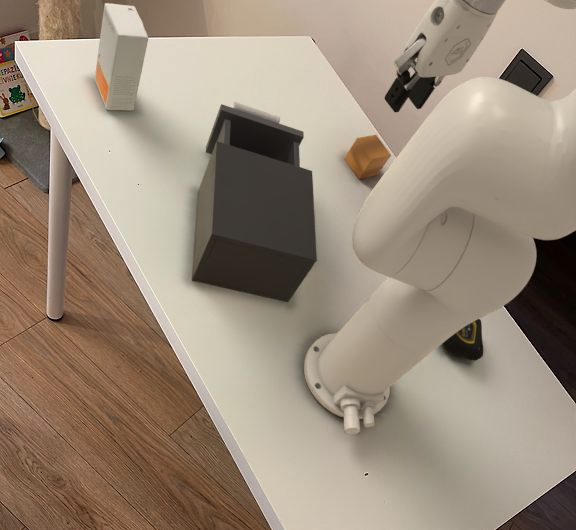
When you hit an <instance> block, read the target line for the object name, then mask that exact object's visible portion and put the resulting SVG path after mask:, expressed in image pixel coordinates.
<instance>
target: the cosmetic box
mask: <svg viewBox="0 0 576 530" xmlns="http://www.w3.org/2000/svg"><path fill="white" fill-rule="evenodd" d="M148 42H149V36H148V33H147V31H146V28H145V25H144V23H143V20H142V19H141V17H140V15H139V13H138V11H137V9H136V7H135V6H134V5H129V4H128V5H126V4H119V3H110V2H106V3H104V6H103V13H102V21H101V28H100V36H99V42H98V51H97V57H96V64H95V71H94V79H93V80H94V83H95V84H96V87H97V89H98V91H99V94H100V96H101V99H102V102H103V104H104V107H105V110H106V111H134V110H135V107H136V101H137V97H138V92H139V86H140V82H141V75H142V72H143V66H144V62H145V57H146V54H147V53H146V52H147V47H148Z"/></svg>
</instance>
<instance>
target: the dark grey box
mask: <svg viewBox="0 0 576 530" xmlns="http://www.w3.org/2000/svg"><path fill="white" fill-rule="evenodd" d="M233 103H234V104H233V107H231V106H228V105H226V104H220V106H219V109H218V112H217V114H216V118H215V120H214V122H213V125H212V128H211V131H210V134H209V137H208V139H207V143H206V146H205V153H206V154H209V155H212V152H213V149H214V147H215V144H216V141H218V142H221V143H224V144H227V145H231V146H234V147H237V148H240V149H243V150H247V151H250V152H253V153H256V154H260V155H263V156H266V157H269V158H272V159H276V160H279V161H282V162H285V163H288V164H292V165H295V166H298V167H301V161H300V160H301V159H300V158H301V157H300V146H301V144H302V142H303V140H304V138H305V133H304V131H303V130H300V129H297V128H294V127H291V126H288V125H286V124H282V123H280V122H281V117H280V116H277V115H275V114H272V113H269V112H266V111H263V110H260V109H257V108H254V107H252V106H248V105H245V104H242V103H239V102H236V101H235V102H233Z"/></svg>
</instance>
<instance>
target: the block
mask: <svg viewBox="0 0 576 530" xmlns="http://www.w3.org/2000/svg"><path fill="white" fill-rule="evenodd" d="M391 156H392V154H391V153H390V151H389V150H388V149H387V147H386V146H385V144H384V143H383V142H382V140H381V139H380V138H379V136H378V135H377V134H372V135H371V134H370V135H367V136H359V137H356V139H355V141H354V142H353V143H352V145H351V147H350V149H349V150H348V152H347V154H345V157H344V161H345V162H346V163H347V165H348V167H349V168H350V169H351V171H352V172H353V173H354V175H355V176H356V178H357V179H358V180H362V179H366V178H370V177H374V176H378V175H379V173H380V172H381V171H382V169H383V168H384V167H385V165H386V164H387V162H388V161H389V159H390V158H391Z"/></svg>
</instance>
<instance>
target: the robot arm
mask: <svg viewBox="0 0 576 530" xmlns="http://www.w3.org/2000/svg"><path fill="white" fill-rule="evenodd" d="M544 1H545V2H547V3H548V4H550V5H552V6H554V7H556V8H559V9H563V10H576V0H544ZM505 2H506V0H434V1H433V3H432V4H431V5H430V7H429V8H428V10H427V11H426V12H425V13H424V15H423V16H422V18H421V20H420V21H419V22H418V24H417V25H416V27H415V29H414V30H413V31H412V33H411V35H410V37H409V39H408V40H407V42H406V45H405V46H404V49H403V51H402V54H400V55H399V56H398V57H397V58H396V59H395V61H393V66H394V69H395V72H396V73H395V79H394V81H393V82H392V84H391V86H390V87H389V89H388V91H387V92H386V94H385V95H384V101H385V102H386V103H387V105H388V106H389V107H390V109H391V110H392V111H393V112H394V113H399V112H400V111H401V109H402V108H403V106H404V105H405V103H406V102H407V100H408V99H409V101H410V102H411V104H413V106H414V108H415V109H416V110H421V109H422V108H423V107H424V105H425V104H426V102H427V101H428V99H429V98H430V97H431V95H432V94H433V92H434V91H435V90H436V88H437V87H438V86H440V85H441V83H442V82H443V80H444V78H445V77H446V76H453V75H457V74H459V73H460V72H462V71H463V69H464V68H465V67H466V66H467V64H468V62H469V61H470V60H471V58H472V57H473V55H474V54H475V52H476V51H477V49H478V47H479V46H480V45H481V43H482V41H483V40H484V38H485V37H486V35H487V33H488V31H489V29H490V28H491V26H492V24H493V23H494V20H495V19H496V16H497V14H498V12H499V10H500V9H501V7H502V6H503V5H504V3H505ZM411 68H412V70H413V71H414V72H413V74H412V75H411V72H410V71H409V70H410V69H411ZM573 232H576V87H575V88H574V89H573V90H572V91H570V93H569V94H567V95H565V96H564V97H563V98H560V99H558V100H546V99H544V98H541V97H540V96H538V95H536V94H534V93H532V92H530V91H527V90H526V89H524V88H523V87H520V86H518V85H516V84H514V83H512V82H510V81H507V80H505V79H501V78H498V77H494V76H477V77H473V78H470V79H468V80H466V81H463V82H461V83H460V84H459V85H456V86H454V88H452V89H451V90H450V91H449V92H448V93H446V94H445V96H444V97H442V99H440V101H439V102H438V103H437V104H436V105H435V106H434V108H433V109H432V111H431V112H430V113H429V114H428V115H427V116H426V118H425V119H424V121H423V122H422V123H421V124H420V126H419V127H418V128H417V130H416V131H415V132H414V134H413V135H412V137H411V138H410V139H409V140H408V142H407V143H406V144H405V145H404V147H403V148H402V149H401V151H400V153H399V154H398V155H397V156H396V158H395V159H394V160H393V161H392V163H391V165H390V166H389V167H388V168H387V170H386V171H385V172H384V174H383V175H382V176H381V178H380V179H379V180H378V182H377V183H376V184H375V186H374V187H373V189H372V190H371V191H370V193H369V194H368V196H367V197H366V199H365V200H364V202H363V204H362V206H361V208H360V210H359V212H358V214H357V216H356V218H355V221H354V225H353V228H352V233H351V243H352V248H353V252H354V254H355V256H356V257H357V259H358V261H360V263H362V265H364V266H366V267H367V268H368V269H370V270H371V271H374V272H376V273H378V274H381V275H383V276H385V277H387V278H386V279H385V280H384V281H383V282H382V283H381V284H380V285H379V286H378V288H377V289H375V291H374V292H373V293H372V294H370V296H369V297H368V298H367V300H366V301H365V302H364V303H363V304H362V305H361V306H360V308H359V309H358V310H357V311H356V312H355V313H354V315H352V317H351V318H350V319H349V320H348V321H347V322H346V323H345V324H344V326H343V327H342V328H341V329H340V330H339V331H338V332H331V333H328V334H324V335H323V336H320V337H319V338H317V339H316V340H315V341H314V342H313V343H312V344H311V345H310V346H309V348H308V350H307V352H306V354H305V357H304V359H303V373H304V378H305V381H306V385H307V387H308V389H309V391H310V392H311V394H312V396H313V397H314V398H315V399H316V401H317V402H318V403H319V404H320V405H321V406H323V408H325V409H326V410H328V411H329V412H331V414H334V415H336V416H338V417H341V418H343V426H344V427H343V429H344V433H345V434H347V435H356V434H359V433H360V432H361V426H360V425H361V423H360V420H362V421H363V427H364V428H373V427H375V425H376V423H375V414H377V413H378V412H380V411H381V410H382V409H383V408H384V407H385V405H386V404H387V402H388V399H389V397H390V394H391V386H392V385H394V384H395V383H396V382H397V381H399V380H400V379H401V378H402V377H403V376H404V375H406V374H407V373H408V372H410V371H411V370H412V369H413V368H414V367H415V366H417V365H418V364H419V363H421V361H423V360H424V359H425V358H426V357H428V356H429V355H430V354H431V353H433V352H434V351H435V350H437V348H439V347H440V346H441V345H442V343H444V342H445V341H446V340H447V339H448V338H450V337H451V336H452V335H454V334H455V333H456V332H458V331H459V330H461V329H462V328H463V327H465V326H467V325H468V324H470V323H472V322H474V321H476V320H478V319H480V320H481V319H482V318H484V317H486V316H488V315H490V314H492V313H494V312H495V311H497V310H499V309H501V308H503V307H504V306H506V305H507V304H509V303H510V302H511V301H512V300H514V299H515V298H516V297H517V296H519V294H520V293H521V292H522V291H523V290H524V288H525V287H526V286H527V285H528V283H529V281H530V280H531V277H532V276H533V274H534V270H535V267H536V263H537V247H536V243H535V240H534V239H537V240H541V241H553V240H554V241H555V240H559V239H562V238H564V237H566V236H569V235H570V234H572V233H573Z"/></svg>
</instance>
